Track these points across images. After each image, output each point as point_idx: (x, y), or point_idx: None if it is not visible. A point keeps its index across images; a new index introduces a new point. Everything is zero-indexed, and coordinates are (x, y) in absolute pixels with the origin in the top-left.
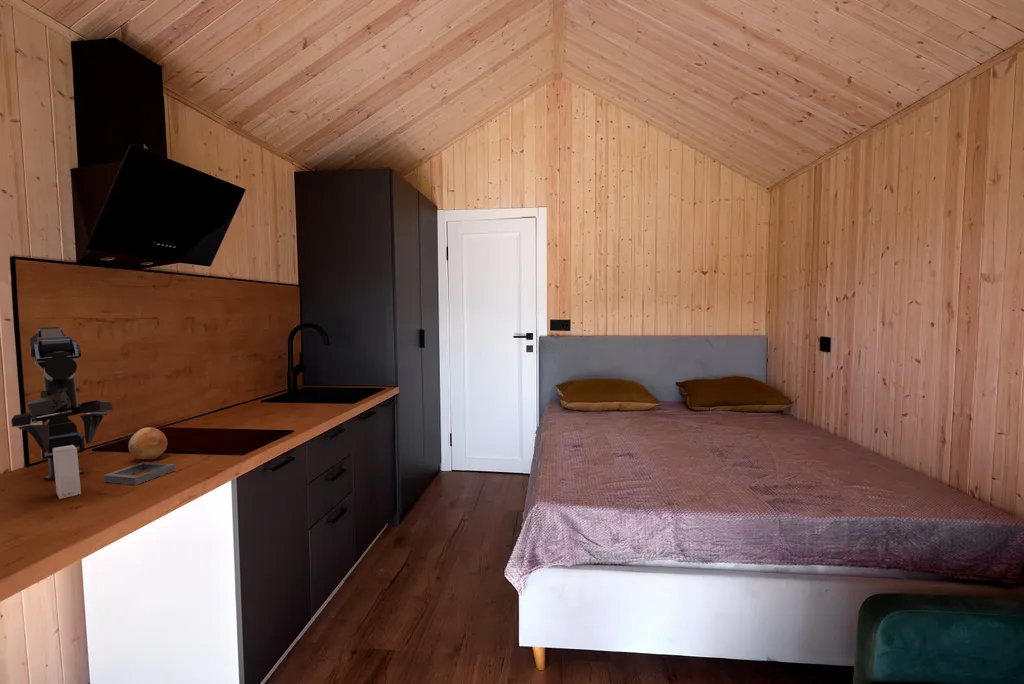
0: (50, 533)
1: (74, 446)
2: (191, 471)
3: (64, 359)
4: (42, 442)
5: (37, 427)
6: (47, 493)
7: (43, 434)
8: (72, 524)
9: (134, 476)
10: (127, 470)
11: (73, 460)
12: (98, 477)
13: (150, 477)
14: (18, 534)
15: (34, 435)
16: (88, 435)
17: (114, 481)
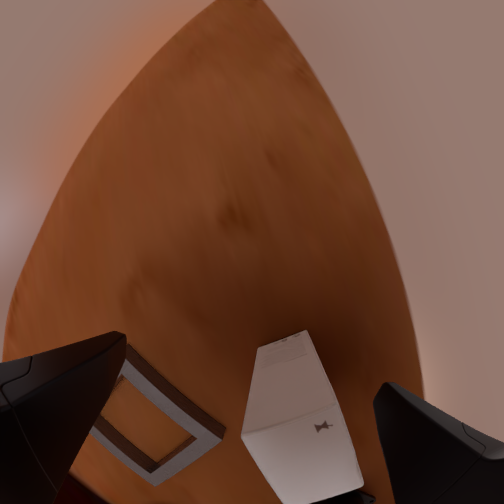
0: (240, 65)
1: (270, 484)
2: None
3: None
4: (420, 415)
5: (495, 491)
6: (352, 403)
7: (432, 481)
8: (209, 93)
9: (125, 370)
10: (175, 454)
11: (262, 397)
12: (255, 473)
13: None
14: (306, 87)
15: (483, 440)
16: (73, 345)
17: (190, 405)
